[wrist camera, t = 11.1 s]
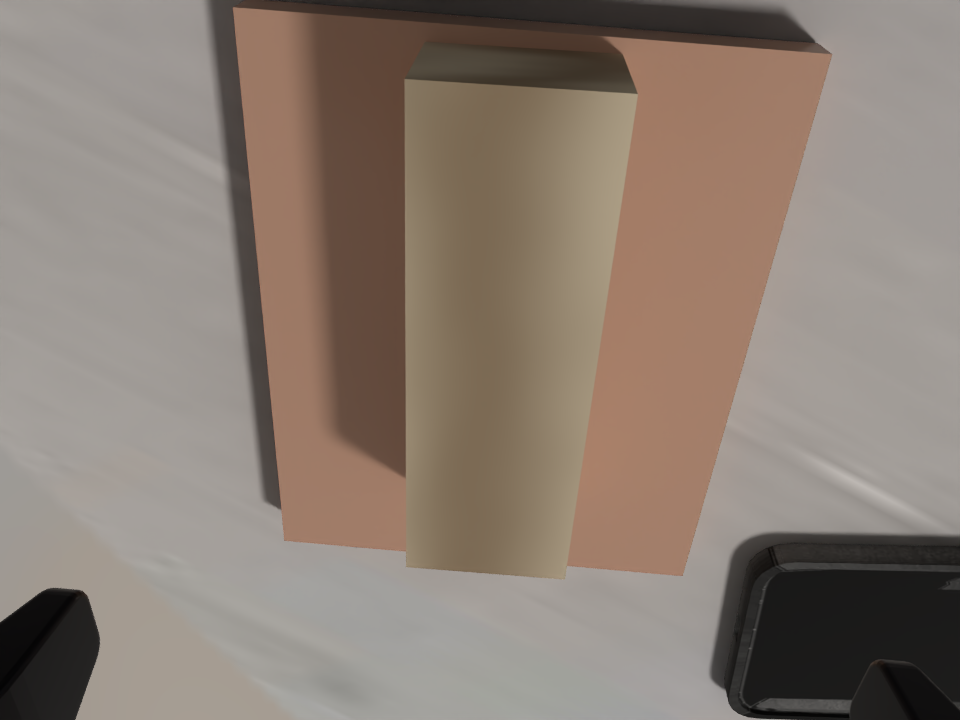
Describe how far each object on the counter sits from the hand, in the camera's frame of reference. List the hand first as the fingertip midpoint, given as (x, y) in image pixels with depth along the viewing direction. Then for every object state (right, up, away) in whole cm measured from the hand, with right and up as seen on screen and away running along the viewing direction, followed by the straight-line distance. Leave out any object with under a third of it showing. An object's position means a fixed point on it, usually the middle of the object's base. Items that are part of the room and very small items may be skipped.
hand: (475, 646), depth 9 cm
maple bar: (+1, +5, +10) cm, 11 cm away
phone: (+16, -5, +18) cm, 24 cm away
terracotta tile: (+1, +4, +12) cm, 13 cm away
